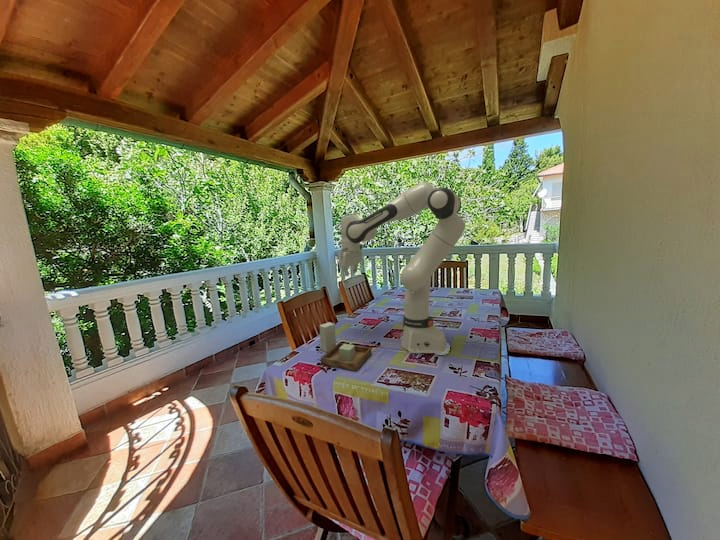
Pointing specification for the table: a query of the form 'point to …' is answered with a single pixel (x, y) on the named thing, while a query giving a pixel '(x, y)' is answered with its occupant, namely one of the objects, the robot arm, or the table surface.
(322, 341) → the skincare box
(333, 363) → the walnut tray
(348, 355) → the sage block
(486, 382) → the table surface
